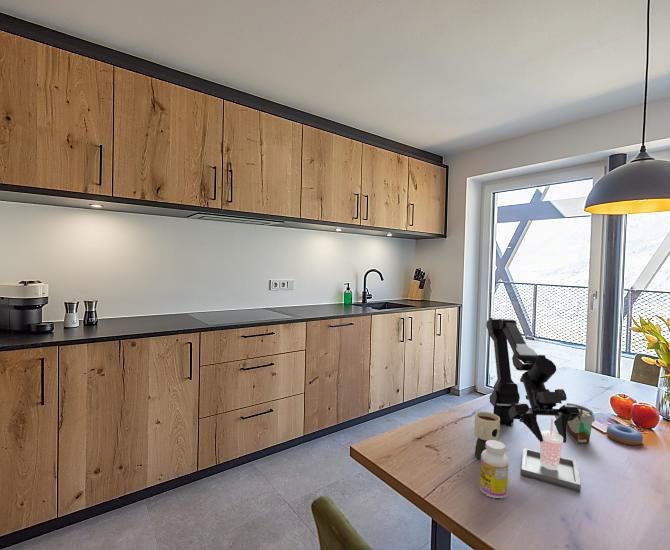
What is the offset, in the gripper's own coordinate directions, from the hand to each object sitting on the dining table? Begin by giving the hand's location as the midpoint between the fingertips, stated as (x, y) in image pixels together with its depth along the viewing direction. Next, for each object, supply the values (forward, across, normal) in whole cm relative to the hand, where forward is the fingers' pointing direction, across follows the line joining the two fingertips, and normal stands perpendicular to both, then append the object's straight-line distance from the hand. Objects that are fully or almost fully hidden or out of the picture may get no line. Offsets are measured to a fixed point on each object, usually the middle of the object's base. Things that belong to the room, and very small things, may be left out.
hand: (553, 442), depth 106 cm
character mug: (+2, -16, +12) cm, 20 cm away
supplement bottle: (+13, -20, 0) cm, 24 cm away
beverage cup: (+5, 0, +6) cm, 8 cm away
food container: (-9, +22, +22) cm, 33 cm away
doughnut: (-9, +37, +23) cm, 45 cm away
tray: (+6, 0, +7) cm, 9 cm away
